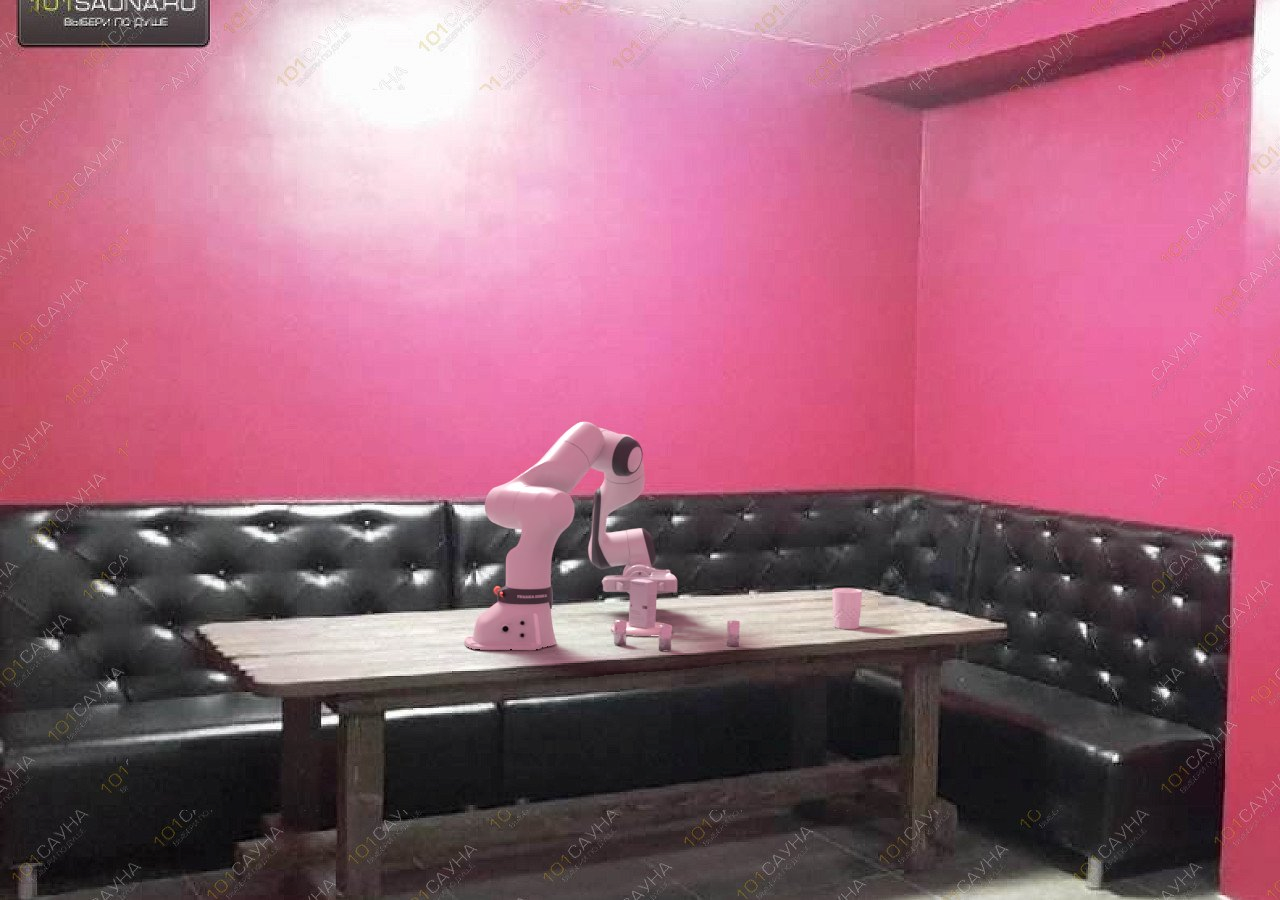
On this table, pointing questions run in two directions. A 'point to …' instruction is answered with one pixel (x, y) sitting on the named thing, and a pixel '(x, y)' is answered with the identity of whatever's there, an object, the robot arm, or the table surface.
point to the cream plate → (641, 630)
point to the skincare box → (642, 603)
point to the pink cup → (846, 607)
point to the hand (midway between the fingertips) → (640, 588)
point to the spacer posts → (666, 634)
